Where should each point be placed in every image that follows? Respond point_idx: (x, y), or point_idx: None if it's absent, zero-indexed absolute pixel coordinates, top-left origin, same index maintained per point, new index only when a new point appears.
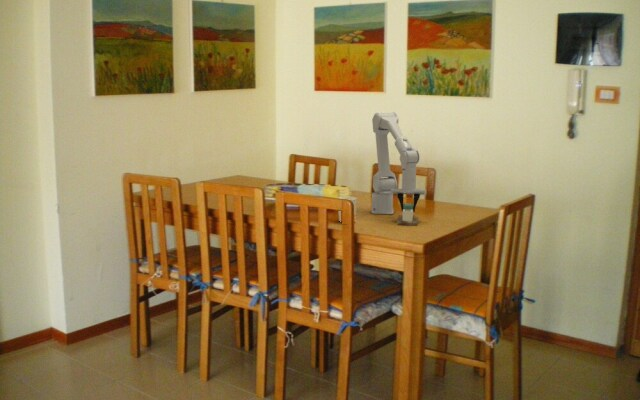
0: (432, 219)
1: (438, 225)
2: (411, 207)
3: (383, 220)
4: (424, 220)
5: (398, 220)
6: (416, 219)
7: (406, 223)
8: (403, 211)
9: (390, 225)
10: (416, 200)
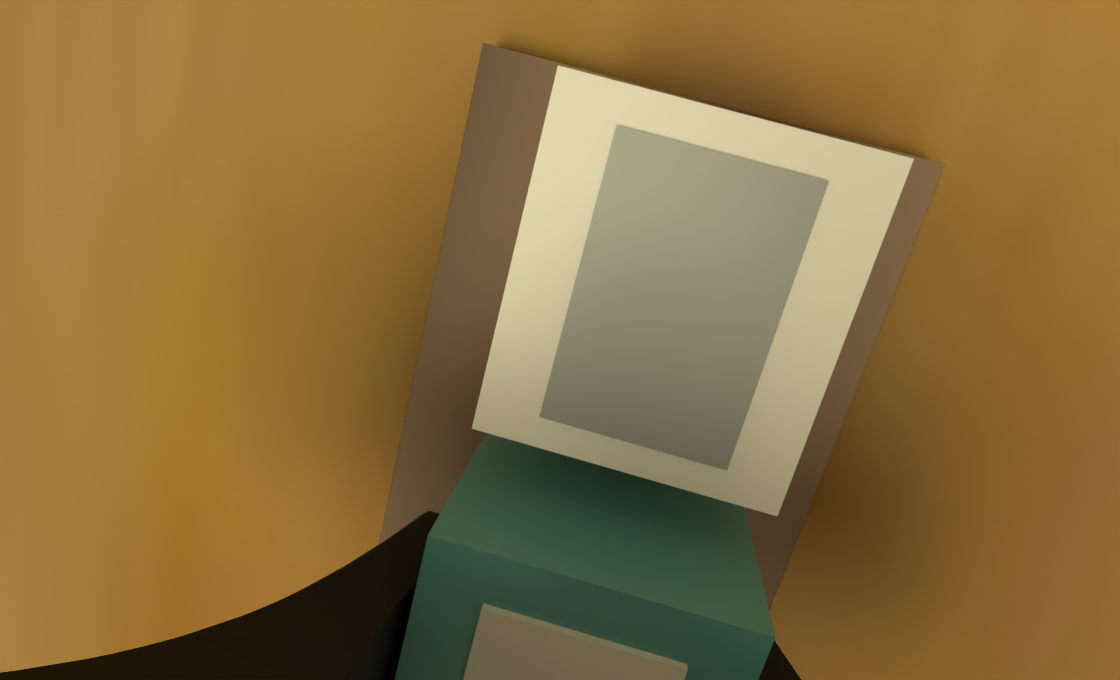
0: (125, 575)
1: (56, 47)
2: (494, 519)
3: (1069, 633)
4: (270, 520)
5: (842, 390)
6: (425, 438)
7: (728, 107)
8: (879, 151)
9: (1105, 134)
10: (202, 663)
